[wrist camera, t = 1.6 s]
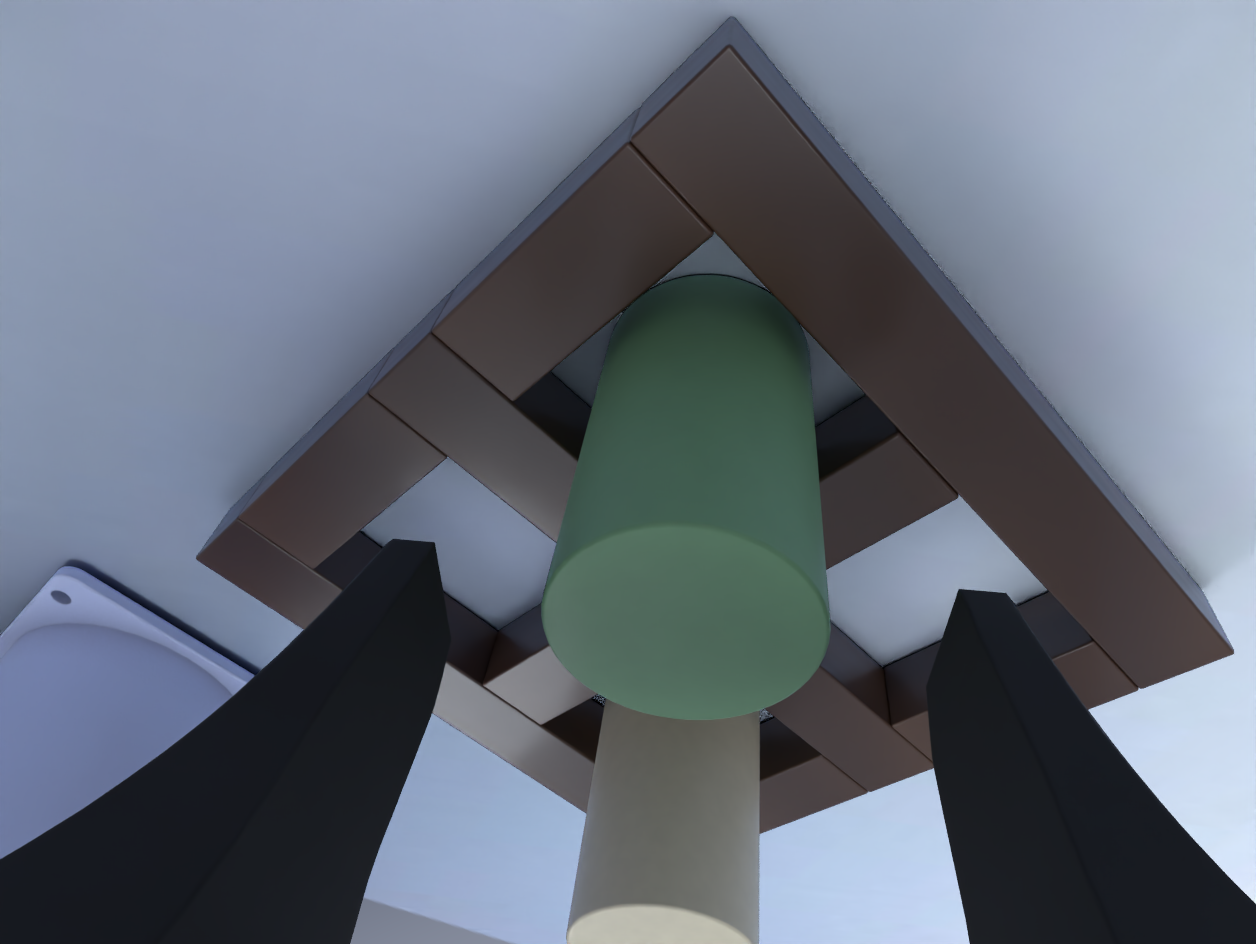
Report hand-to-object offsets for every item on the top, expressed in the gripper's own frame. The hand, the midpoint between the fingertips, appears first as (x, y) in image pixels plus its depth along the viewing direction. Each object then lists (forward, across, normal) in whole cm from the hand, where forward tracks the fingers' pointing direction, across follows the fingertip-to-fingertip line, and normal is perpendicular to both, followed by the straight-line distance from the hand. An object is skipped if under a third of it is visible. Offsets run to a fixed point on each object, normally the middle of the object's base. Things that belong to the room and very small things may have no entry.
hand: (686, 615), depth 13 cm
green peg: (+7, 0, 0) cm, 7 cm away
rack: (+7, 0, +5) cm, 8 cm away
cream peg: (+7, 0, +10) cm, 12 cm away
